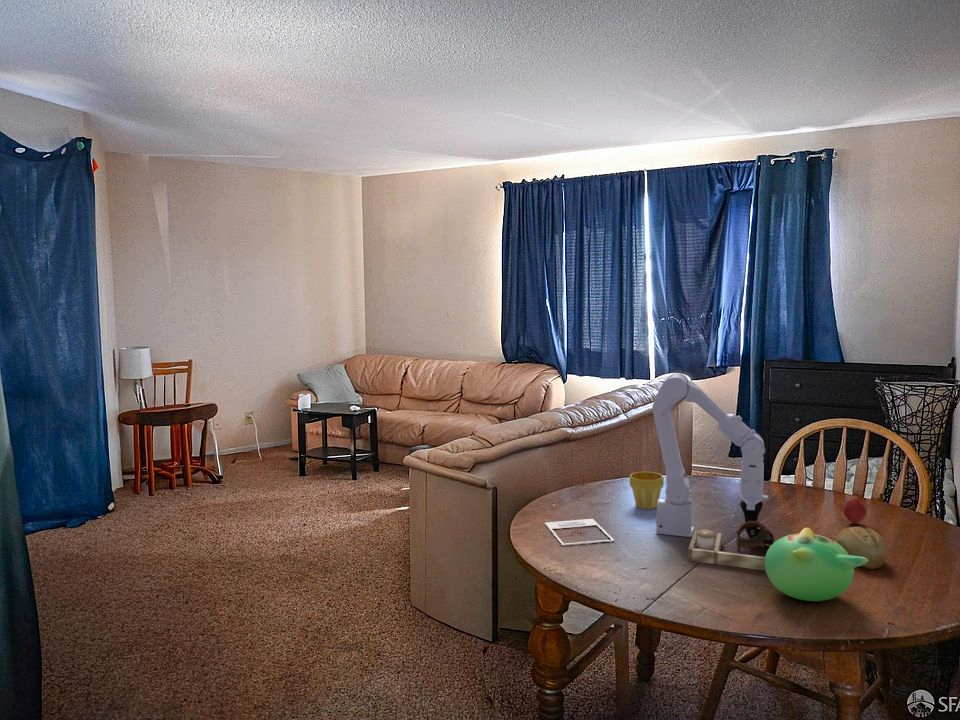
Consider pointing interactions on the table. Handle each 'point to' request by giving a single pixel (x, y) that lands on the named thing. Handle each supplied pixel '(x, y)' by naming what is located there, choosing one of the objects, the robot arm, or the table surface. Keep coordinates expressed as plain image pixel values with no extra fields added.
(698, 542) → the cream jar
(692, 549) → the bracket
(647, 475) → the plant pot
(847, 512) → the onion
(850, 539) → the bread roll
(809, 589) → the toy bird
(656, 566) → the table surface
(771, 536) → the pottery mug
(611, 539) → the photo frame
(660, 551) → the table surface
